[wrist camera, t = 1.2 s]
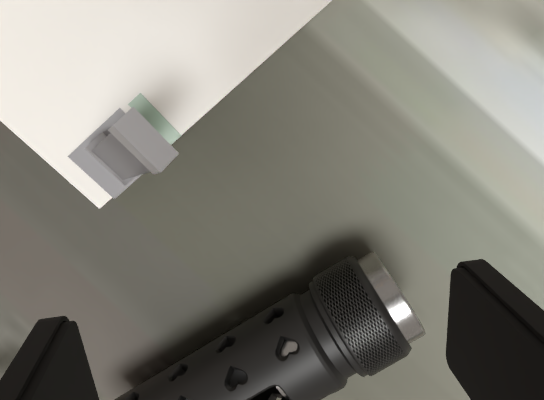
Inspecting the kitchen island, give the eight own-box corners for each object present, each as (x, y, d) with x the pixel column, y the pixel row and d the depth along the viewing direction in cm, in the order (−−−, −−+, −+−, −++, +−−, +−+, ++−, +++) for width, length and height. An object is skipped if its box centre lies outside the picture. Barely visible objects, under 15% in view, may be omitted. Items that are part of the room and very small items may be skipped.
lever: (100, 134, 32) (131, 102, 22) (138, 170, 33) (183, 155, 23) (83, 149, 31) (108, 123, 22) (122, 185, 32) (162, 176, 23)
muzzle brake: (114, 369, 45) (86, 461, 35) (355, 223, 42) (395, 279, 33) (171, 426, 48) (160, 524, 39) (398, 294, 46) (446, 364, 36)
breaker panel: (187, -217, 29) (182, -265, 25) (334, -8, 35) (352, -15, 30) (-52, 34, 33) (-98, 35, 28) (115, 189, 38) (101, 211, 34)
